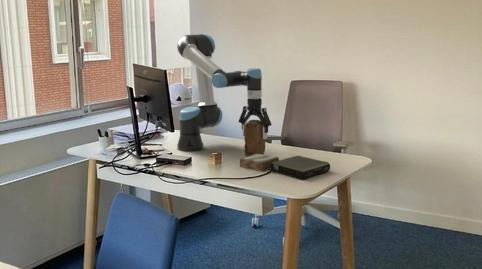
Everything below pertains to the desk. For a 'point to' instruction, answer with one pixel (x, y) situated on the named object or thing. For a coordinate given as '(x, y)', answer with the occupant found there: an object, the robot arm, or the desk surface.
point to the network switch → (300, 167)
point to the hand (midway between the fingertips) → (254, 137)
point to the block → (254, 138)
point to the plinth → (258, 162)
